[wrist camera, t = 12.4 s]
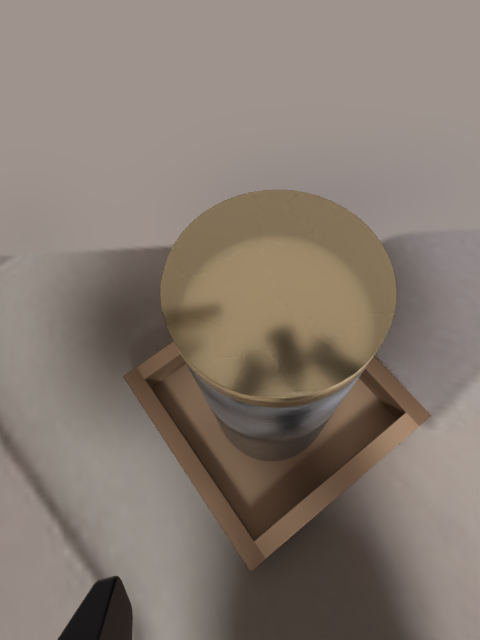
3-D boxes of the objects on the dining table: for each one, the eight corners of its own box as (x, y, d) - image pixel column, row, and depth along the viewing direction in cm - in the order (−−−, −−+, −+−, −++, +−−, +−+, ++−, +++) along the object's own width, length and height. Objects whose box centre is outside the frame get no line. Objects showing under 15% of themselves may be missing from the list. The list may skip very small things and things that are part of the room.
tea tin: (310, 476, 20) (370, 431, 9) (201, 440, 21) (122, 355, 10) (336, 370, 23) (414, 216, 11) (236, 341, 24) (206, 171, 12)
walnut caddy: (252, 565, 20) (250, 571, 18) (135, 388, 23) (122, 376, 21) (416, 424, 22) (431, 415, 20) (284, 282, 26) (286, 263, 24)
